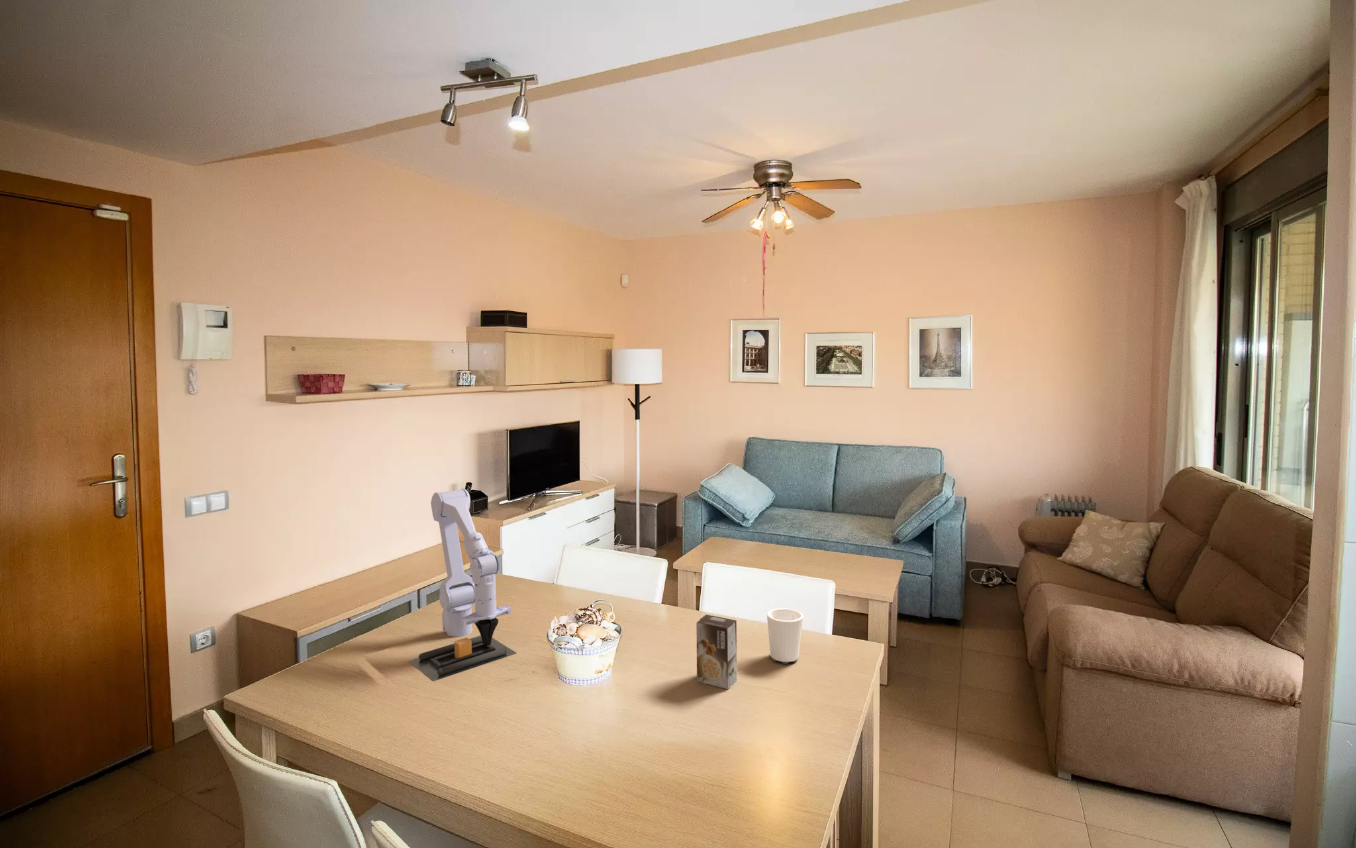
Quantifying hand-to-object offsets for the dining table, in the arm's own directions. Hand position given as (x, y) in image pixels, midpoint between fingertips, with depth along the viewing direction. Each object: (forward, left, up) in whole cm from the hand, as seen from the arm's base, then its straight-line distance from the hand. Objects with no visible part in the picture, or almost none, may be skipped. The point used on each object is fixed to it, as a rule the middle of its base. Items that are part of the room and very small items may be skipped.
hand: (486, 644), depth 190 cm
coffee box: (+55, +36, -3) cm, 66 cm away
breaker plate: (0, -7, -3) cm, 8 cm away
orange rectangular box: (0, -7, -2) cm, 7 cm away
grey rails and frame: (0, -7, -2) cm, 7 cm away
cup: (+59, +59, -3) cm, 84 cm away
